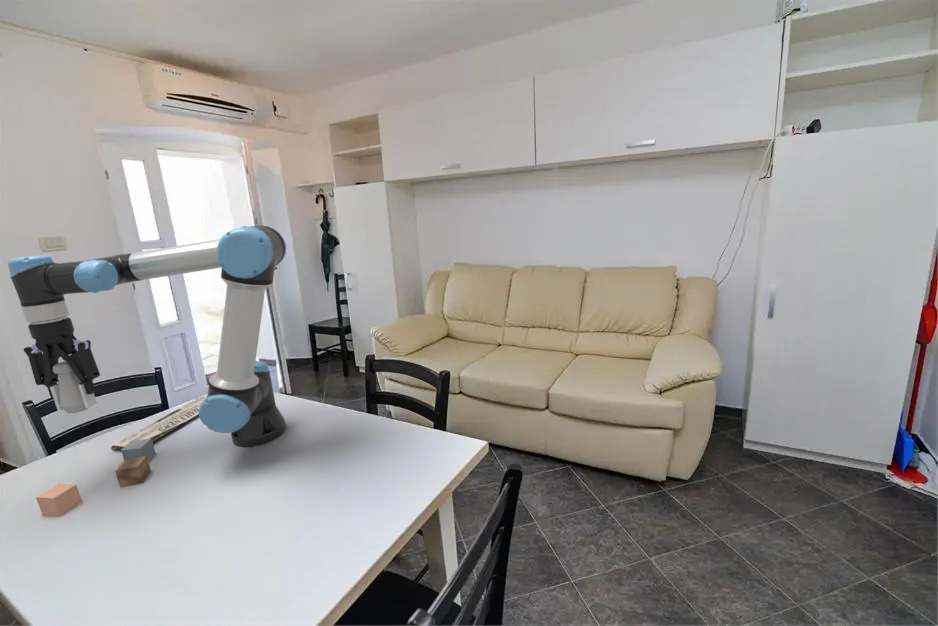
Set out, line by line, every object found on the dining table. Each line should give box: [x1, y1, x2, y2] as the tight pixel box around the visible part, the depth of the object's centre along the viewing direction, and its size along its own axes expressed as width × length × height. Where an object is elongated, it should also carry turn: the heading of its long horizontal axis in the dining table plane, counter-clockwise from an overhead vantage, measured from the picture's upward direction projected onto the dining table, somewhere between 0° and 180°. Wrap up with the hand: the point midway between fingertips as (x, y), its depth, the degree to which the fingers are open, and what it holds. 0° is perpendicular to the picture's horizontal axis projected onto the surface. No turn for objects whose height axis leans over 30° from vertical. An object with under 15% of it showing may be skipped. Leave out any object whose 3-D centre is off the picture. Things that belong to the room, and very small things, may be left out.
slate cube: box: [120, 439, 157, 461], centre depth 118 cm, size 5×5×5 cm
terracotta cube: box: [35, 483, 83, 517], centre depth 99 cm, size 5×5×5 cm
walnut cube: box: [114, 456, 152, 488], centre depth 109 cm, size 5×5×5 cm
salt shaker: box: [53, 360, 89, 415], centre depth 105 cm, size 6×6×13 cm
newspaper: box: [110, 394, 208, 451], centre depth 139 cm, size 35×12×4 cm, turn 170°
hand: (77, 406), depth 106 cm, fingers closed on salt shaker, 6 cm apart
